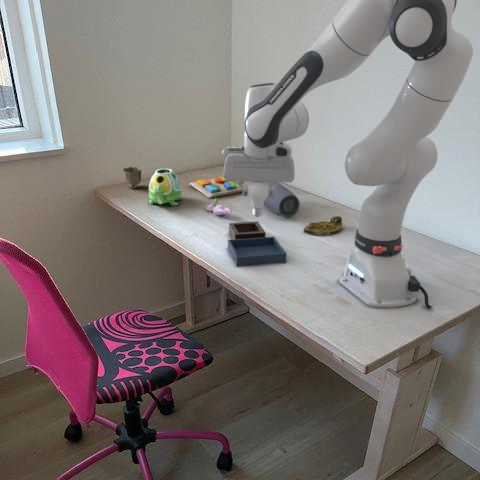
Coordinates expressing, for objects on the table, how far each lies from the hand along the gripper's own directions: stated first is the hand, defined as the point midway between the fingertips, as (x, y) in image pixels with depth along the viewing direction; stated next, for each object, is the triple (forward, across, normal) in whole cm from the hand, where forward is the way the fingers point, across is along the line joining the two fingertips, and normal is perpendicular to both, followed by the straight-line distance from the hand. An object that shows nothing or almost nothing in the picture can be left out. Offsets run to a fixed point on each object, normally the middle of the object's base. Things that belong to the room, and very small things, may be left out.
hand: (258, 195), depth 147 cm
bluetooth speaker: (+19, +7, +40) cm, 45 cm away
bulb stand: (+19, -3, +12) cm, 22 cm away
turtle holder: (+19, -35, +45) cm, 60 cm away
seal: (+19, +23, +22) cm, 37 cm away
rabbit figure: (+19, -14, +34) cm, 41 cm away
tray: (+19, 0, -1) cm, 19 cm away
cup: (+19, -51, +63) cm, 83 cm away
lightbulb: (+6, 0, 0) cm, 6 cm away
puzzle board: (+19, -16, +63) cm, 68 cm away
